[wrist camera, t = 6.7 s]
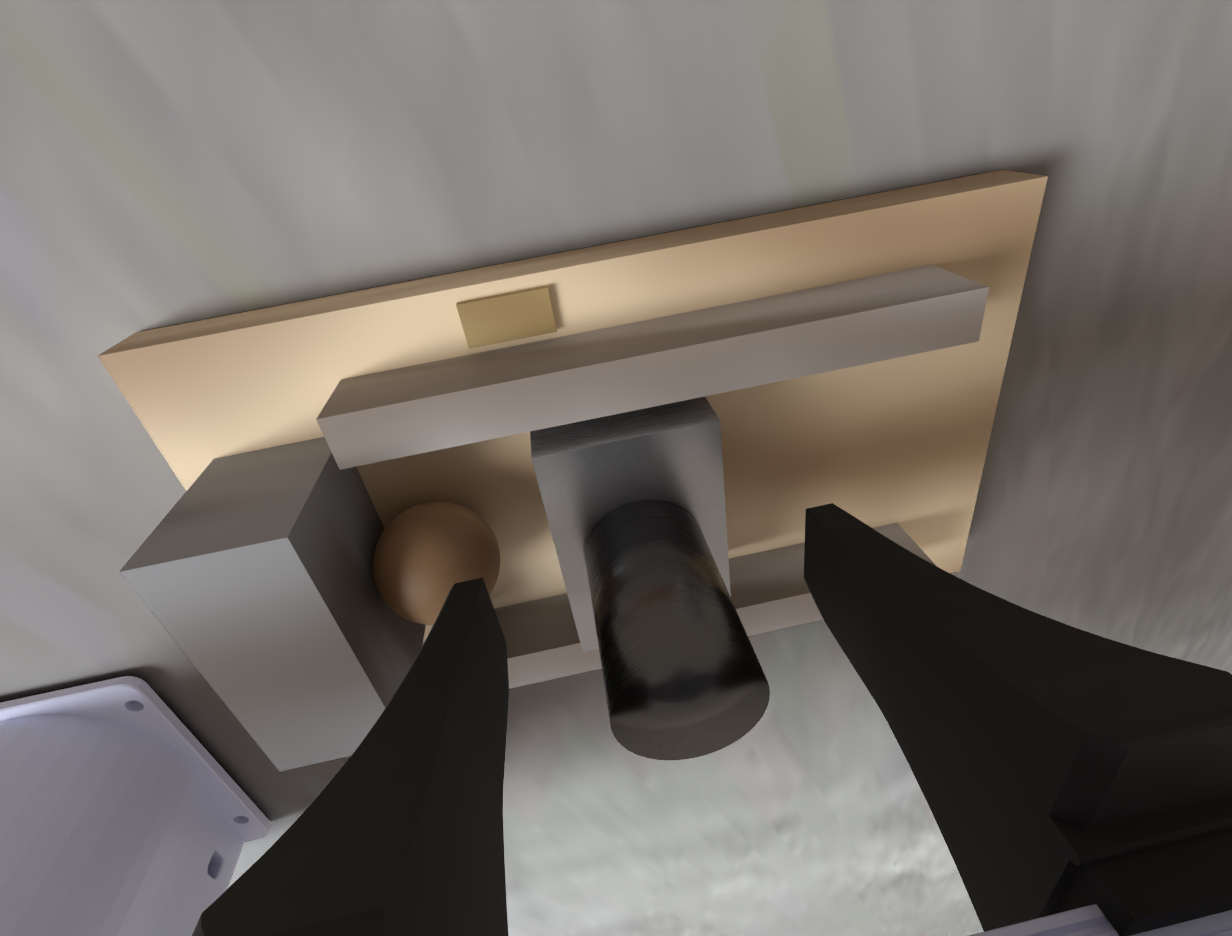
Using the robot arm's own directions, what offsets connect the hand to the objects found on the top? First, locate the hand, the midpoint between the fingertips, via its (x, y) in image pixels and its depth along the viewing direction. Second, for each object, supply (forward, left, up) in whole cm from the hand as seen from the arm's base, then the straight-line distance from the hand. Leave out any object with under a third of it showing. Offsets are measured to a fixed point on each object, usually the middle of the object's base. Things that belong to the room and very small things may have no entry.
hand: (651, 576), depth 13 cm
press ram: (0, 0, -3) cm, 3 cm away
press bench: (0, 0, -5) cm, 5 cm away
